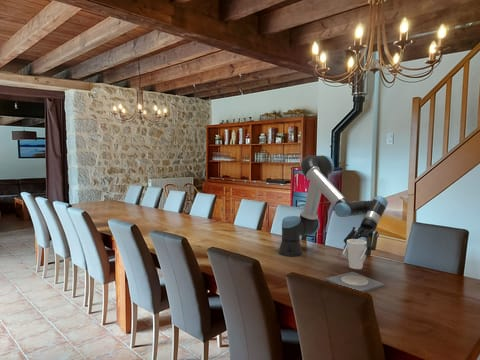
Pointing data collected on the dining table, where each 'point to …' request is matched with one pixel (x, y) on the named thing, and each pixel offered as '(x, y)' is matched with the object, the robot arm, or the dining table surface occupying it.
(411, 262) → the dining table surface
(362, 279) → the grey square plate
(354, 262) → the foam cup
